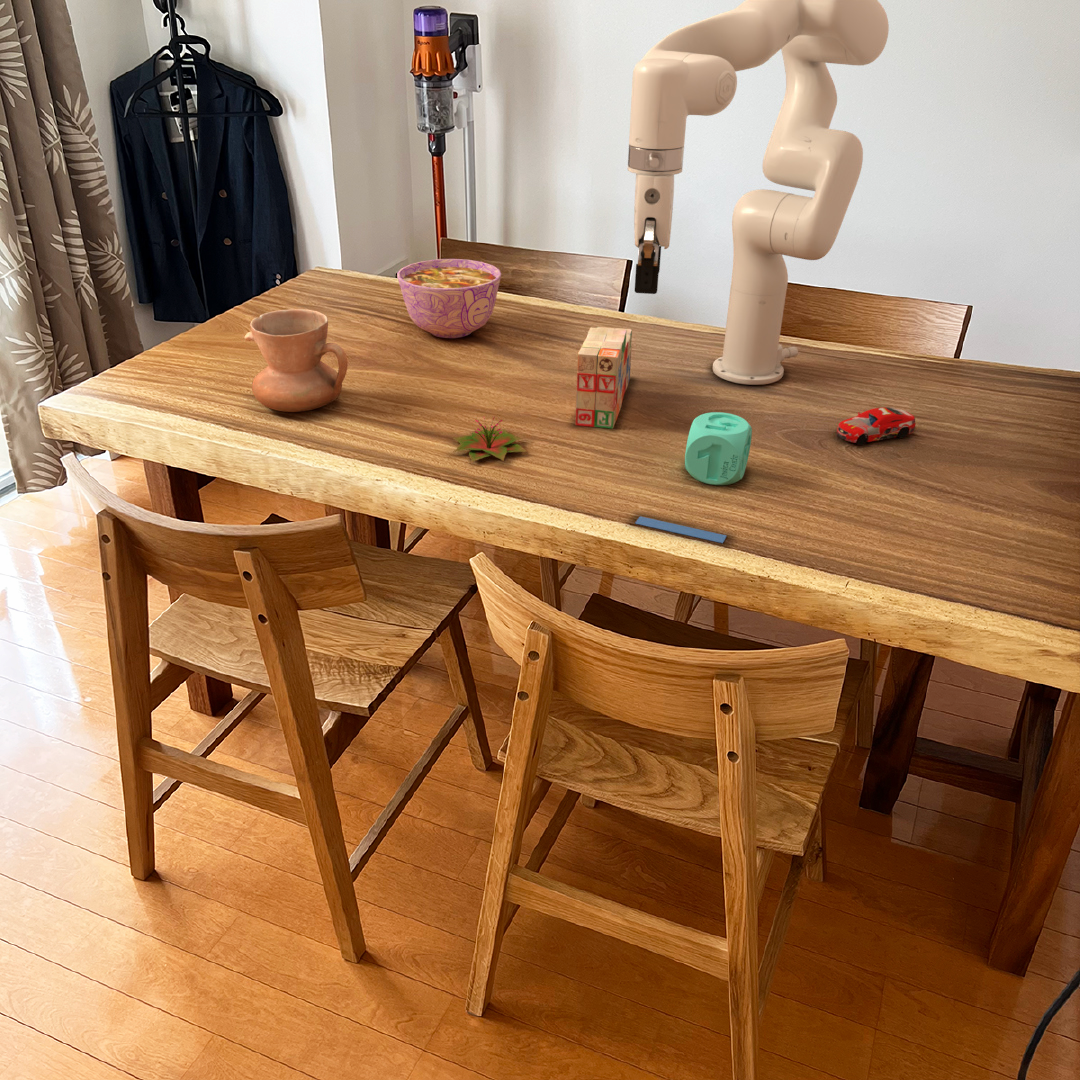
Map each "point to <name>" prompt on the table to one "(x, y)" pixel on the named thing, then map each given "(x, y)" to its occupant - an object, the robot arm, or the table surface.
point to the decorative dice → (718, 448)
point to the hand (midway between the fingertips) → (647, 282)
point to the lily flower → (489, 443)
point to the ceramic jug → (295, 360)
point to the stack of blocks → (602, 376)
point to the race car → (876, 425)
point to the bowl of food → (449, 295)
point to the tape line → (681, 529)
